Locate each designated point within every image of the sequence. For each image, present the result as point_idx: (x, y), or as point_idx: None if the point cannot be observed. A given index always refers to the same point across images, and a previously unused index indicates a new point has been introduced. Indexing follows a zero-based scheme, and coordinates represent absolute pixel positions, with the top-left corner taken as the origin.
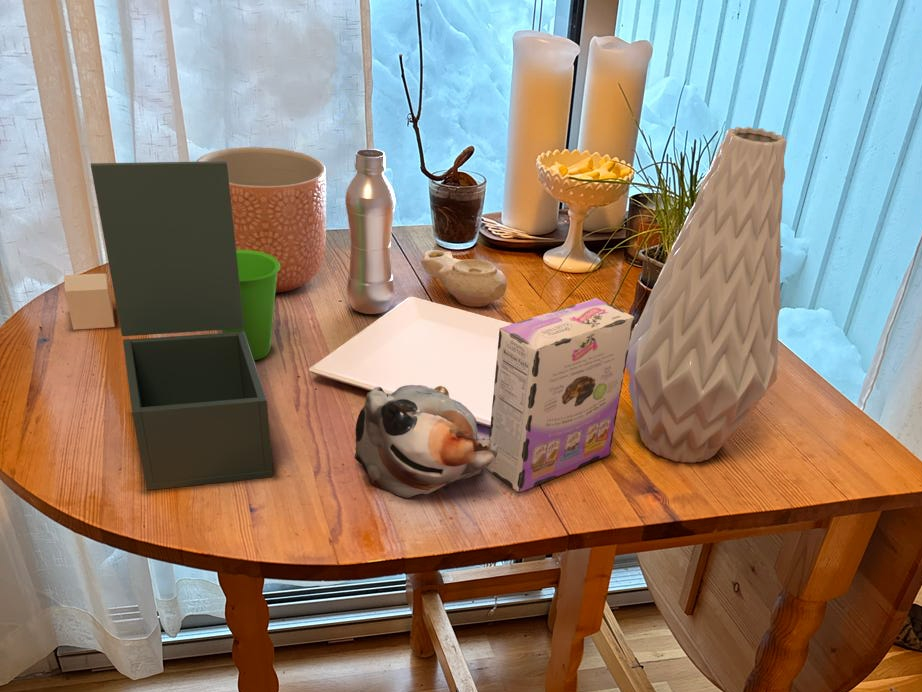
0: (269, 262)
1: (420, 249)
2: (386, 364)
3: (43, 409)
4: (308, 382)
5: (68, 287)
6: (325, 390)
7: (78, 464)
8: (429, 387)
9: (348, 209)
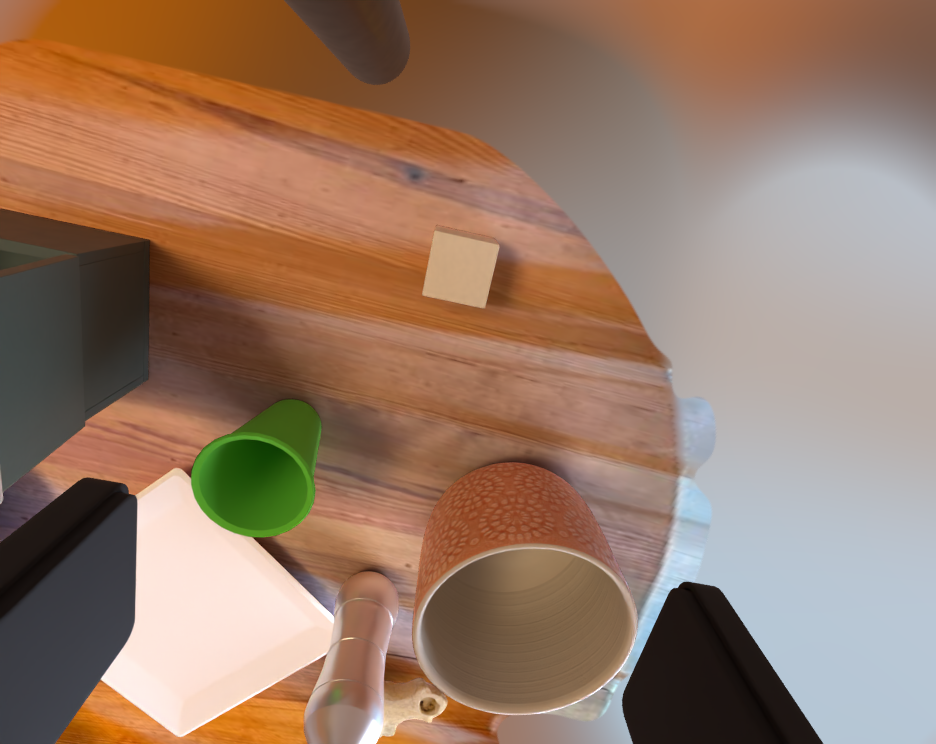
0: (273, 525)
1: None
2: (201, 549)
3: (191, 121)
4: (193, 458)
5: (447, 239)
6: (167, 468)
7: (24, 130)
8: None
9: (342, 681)
